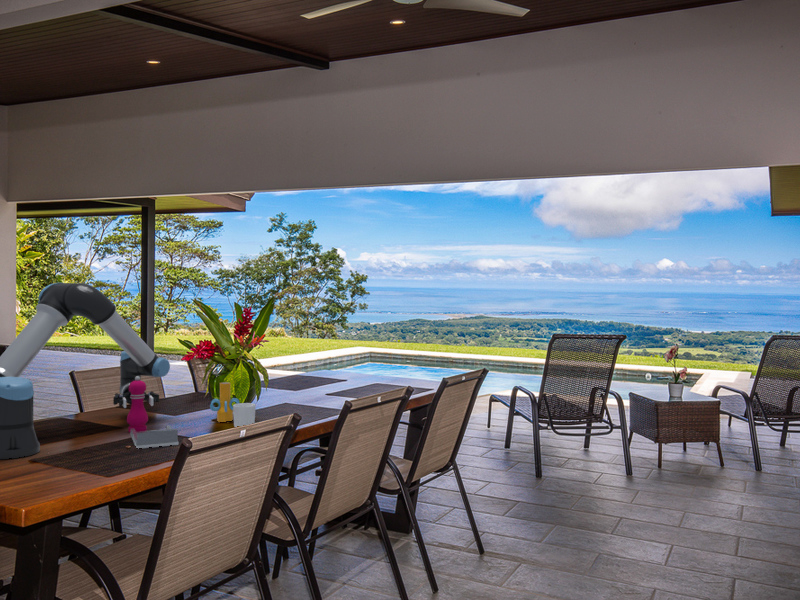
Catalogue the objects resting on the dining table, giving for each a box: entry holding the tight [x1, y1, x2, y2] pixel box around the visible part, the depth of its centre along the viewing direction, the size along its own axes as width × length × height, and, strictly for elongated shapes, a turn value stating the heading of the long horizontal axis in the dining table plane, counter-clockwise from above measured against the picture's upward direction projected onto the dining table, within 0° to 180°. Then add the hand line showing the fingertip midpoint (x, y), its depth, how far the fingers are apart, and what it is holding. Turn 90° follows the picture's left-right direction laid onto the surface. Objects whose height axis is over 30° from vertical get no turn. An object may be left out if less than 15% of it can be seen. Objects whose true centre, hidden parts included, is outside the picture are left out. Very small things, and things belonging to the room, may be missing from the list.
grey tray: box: [129, 424, 179, 450], centre depth 228 cm, size 22×13×5 cm, turn 27°
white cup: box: [232, 402, 256, 427], centre depth 240 cm, size 8×8×10 cm
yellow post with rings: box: [209, 381, 240, 423], centre depth 259 cm, size 12×10×15 cm
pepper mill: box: [126, 376, 149, 433], centre depth 241 cm, size 7×7×20 cm
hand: (138, 402), depth 237 cm, fingers open, 8 cm apart
